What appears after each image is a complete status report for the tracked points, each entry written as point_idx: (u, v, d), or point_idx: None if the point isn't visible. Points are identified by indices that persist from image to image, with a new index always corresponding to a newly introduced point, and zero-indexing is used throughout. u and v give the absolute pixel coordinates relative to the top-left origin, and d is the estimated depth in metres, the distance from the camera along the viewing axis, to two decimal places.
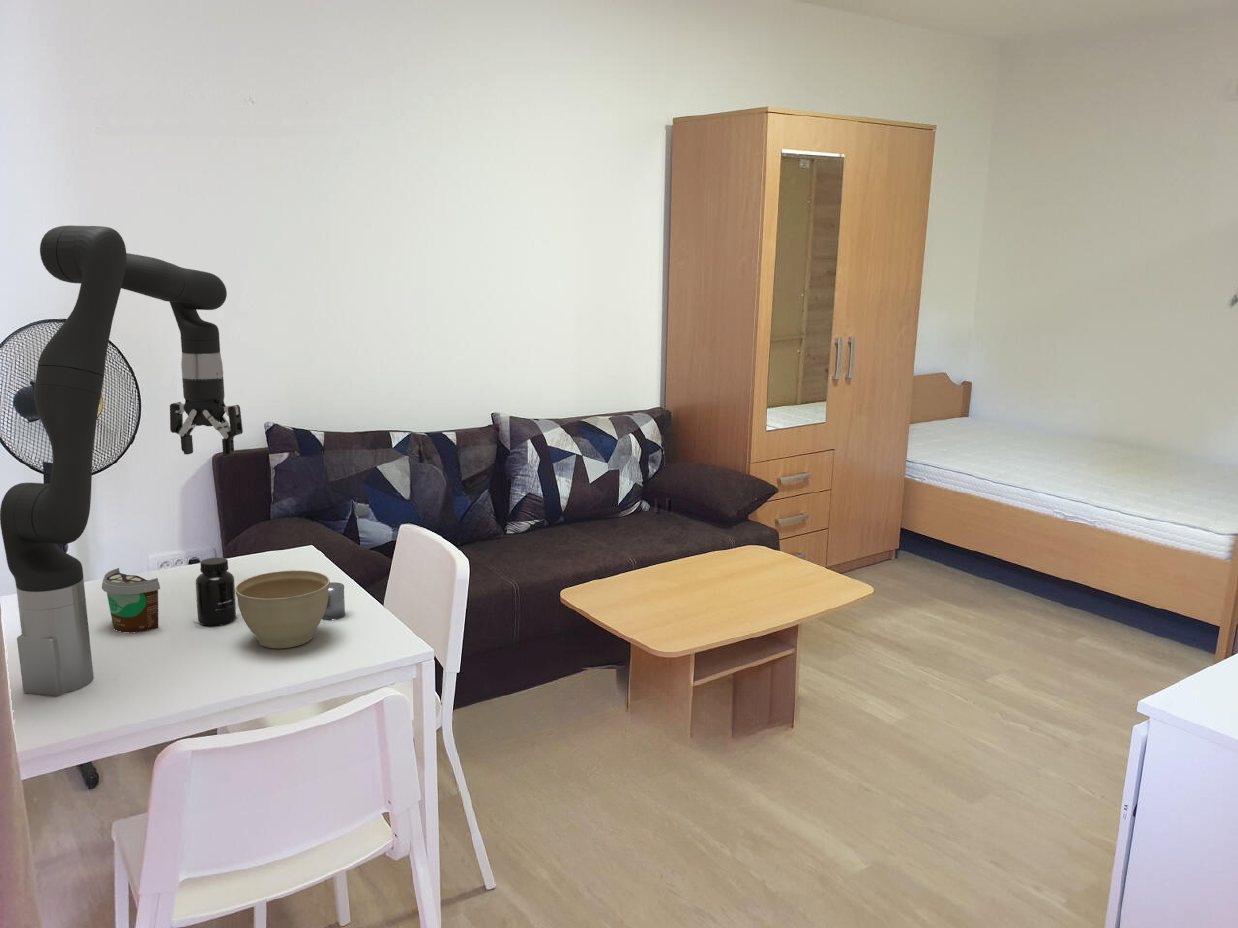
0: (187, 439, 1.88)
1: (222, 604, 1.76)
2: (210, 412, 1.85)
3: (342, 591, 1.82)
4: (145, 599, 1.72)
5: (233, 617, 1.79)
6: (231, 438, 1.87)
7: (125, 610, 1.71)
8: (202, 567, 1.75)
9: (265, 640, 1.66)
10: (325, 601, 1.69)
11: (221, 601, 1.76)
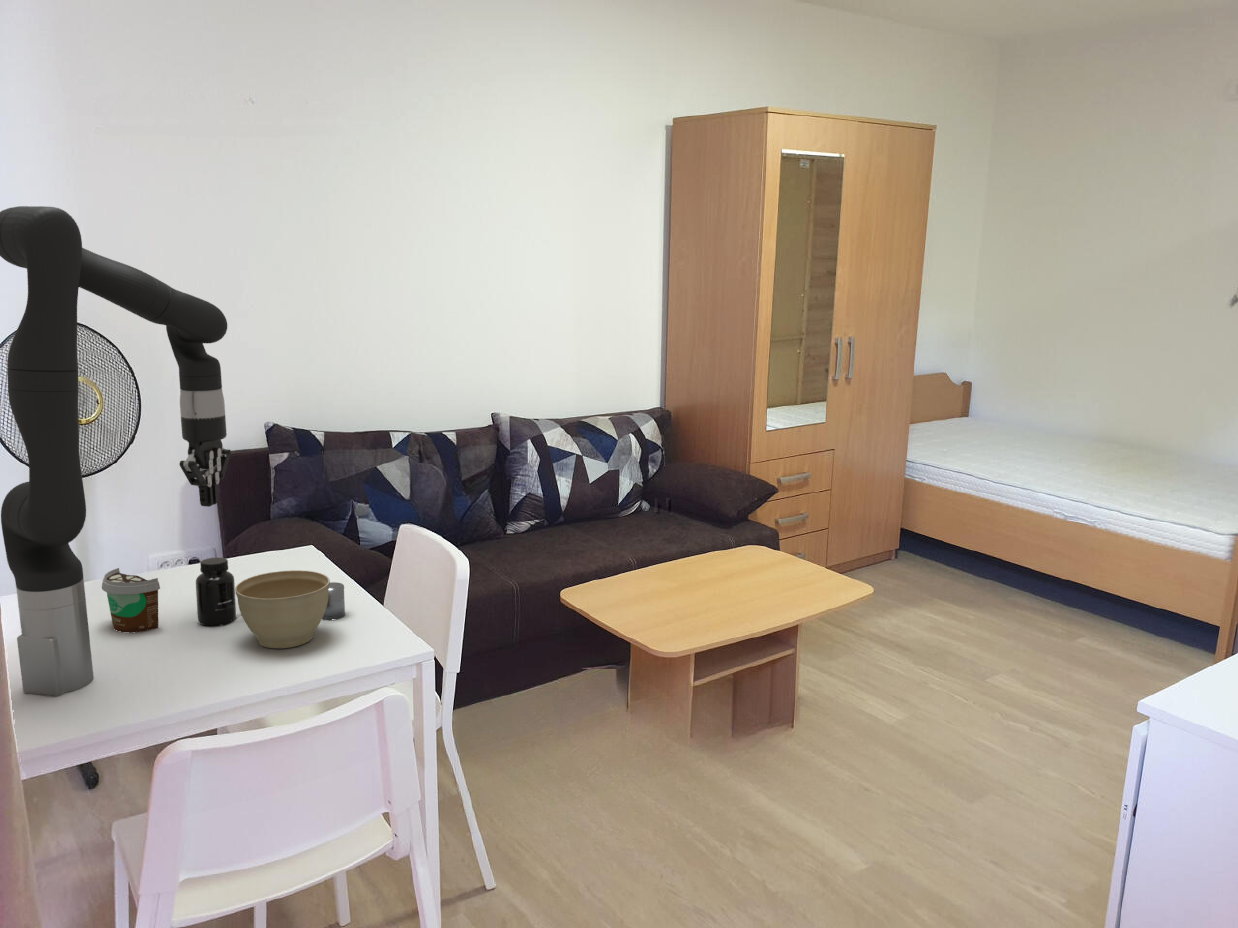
0: None
1: (222, 604, 1.76)
2: None
3: (342, 591, 1.82)
4: (145, 599, 1.72)
5: (233, 617, 1.79)
6: None
7: (125, 610, 1.71)
8: (202, 567, 1.75)
9: (265, 640, 1.66)
10: (325, 601, 1.69)
11: (221, 601, 1.76)
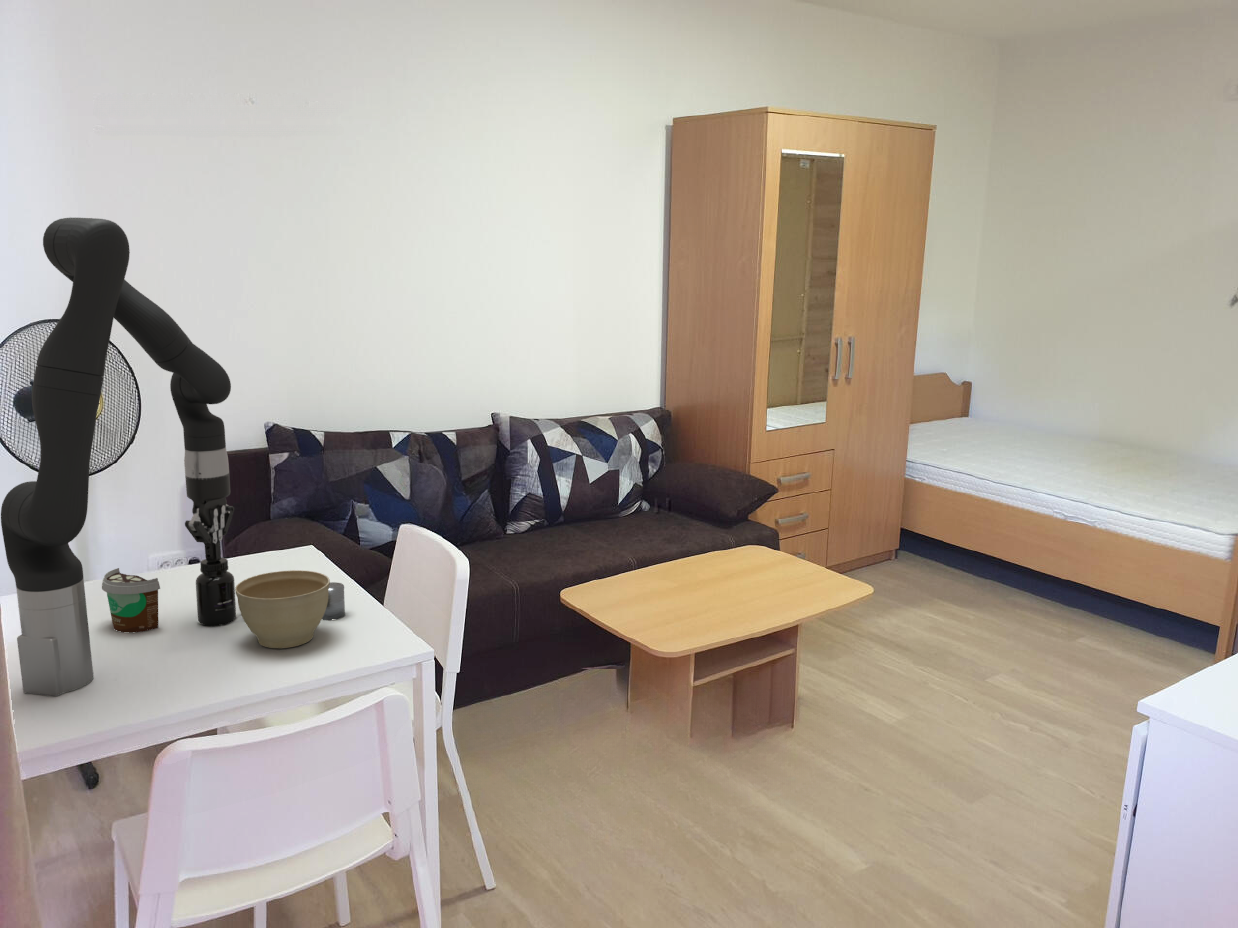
0: None
1: (222, 604, 1.76)
2: None
3: (342, 591, 1.82)
4: (145, 599, 1.72)
5: (233, 617, 1.79)
6: None
7: (125, 610, 1.71)
8: (202, 567, 1.75)
9: (265, 640, 1.66)
10: (325, 601, 1.69)
11: (221, 601, 1.76)
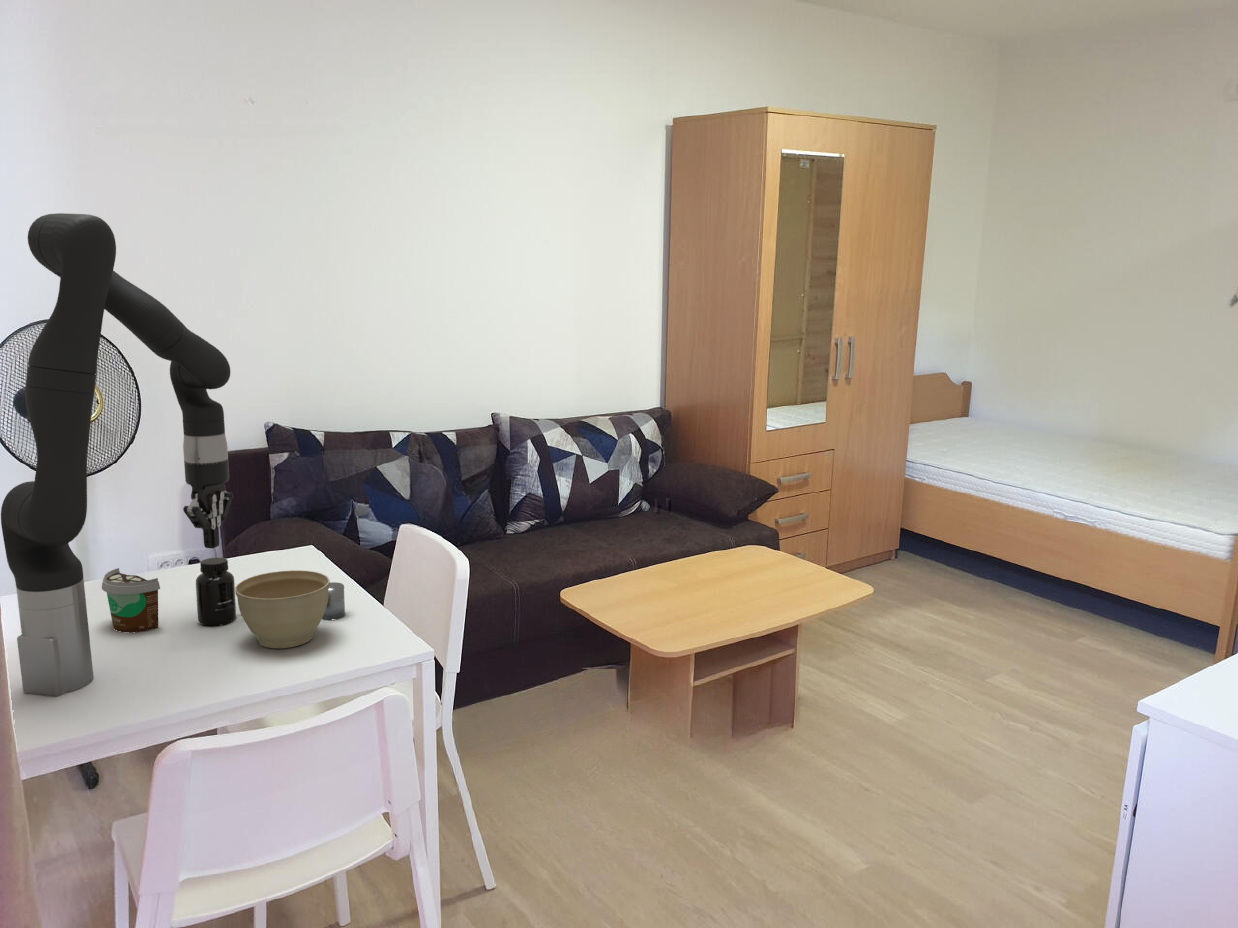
0: None
1: (222, 604, 1.76)
2: None
3: (342, 591, 1.82)
4: (145, 599, 1.72)
5: (233, 617, 1.79)
6: None
7: (125, 610, 1.71)
8: (202, 567, 1.75)
9: (265, 640, 1.66)
10: (325, 601, 1.69)
11: (221, 601, 1.76)
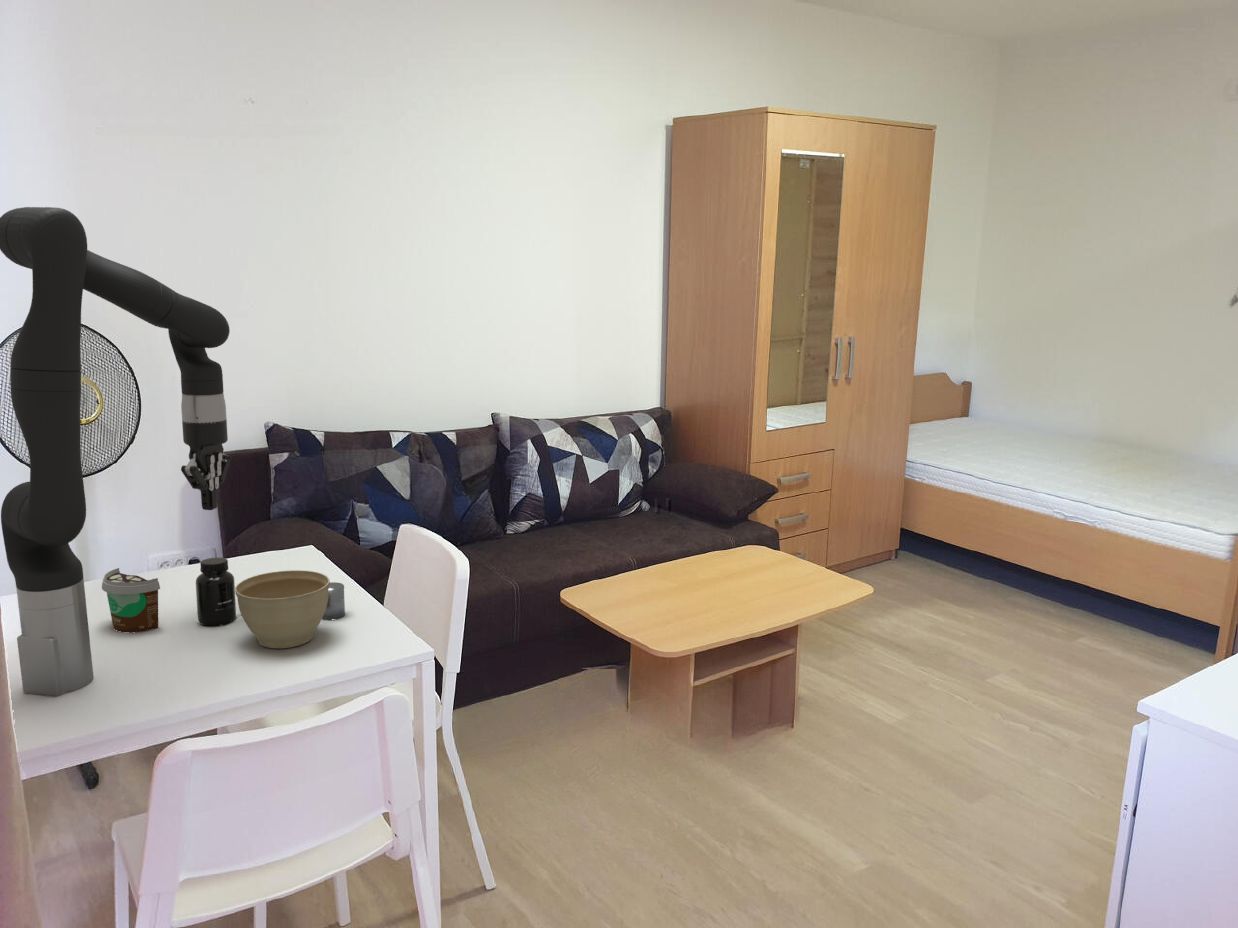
0: None
1: (222, 604, 1.76)
2: None
3: (342, 591, 1.82)
4: (145, 599, 1.72)
5: (233, 617, 1.79)
6: None
7: (125, 610, 1.71)
8: (202, 567, 1.75)
9: (265, 640, 1.66)
10: (325, 601, 1.69)
11: (221, 601, 1.76)
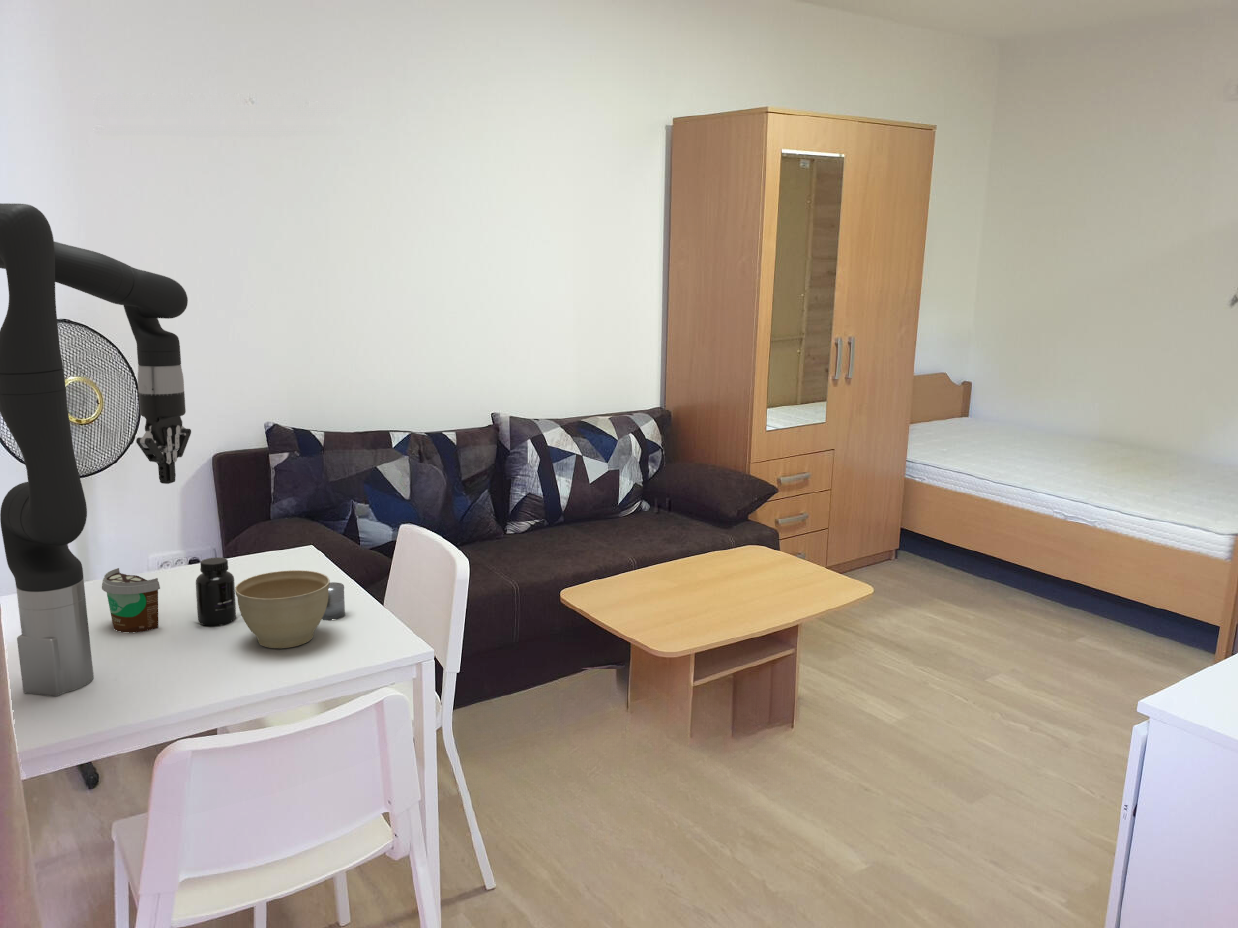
0: None
1: (222, 604, 1.76)
2: None
3: (342, 591, 1.82)
4: (145, 599, 1.72)
5: (233, 617, 1.79)
6: None
7: (125, 610, 1.71)
8: (202, 567, 1.75)
9: (265, 640, 1.66)
10: (325, 601, 1.69)
11: (221, 601, 1.76)
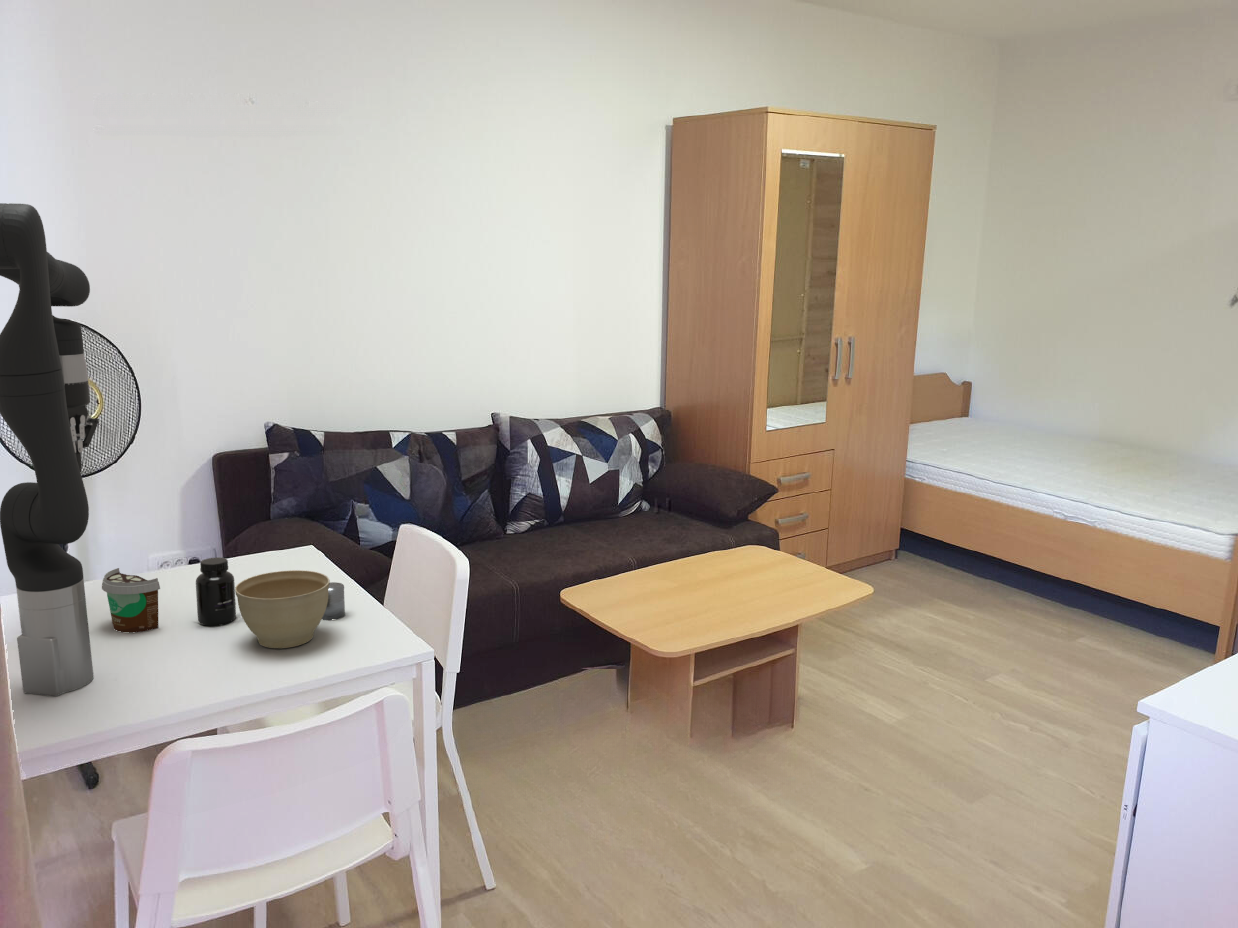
0: None
1: (222, 604, 1.76)
2: None
3: (342, 591, 1.82)
4: (145, 599, 1.72)
5: (233, 617, 1.79)
6: None
7: (125, 610, 1.71)
8: (202, 567, 1.75)
9: (265, 640, 1.66)
10: (325, 601, 1.69)
11: (221, 601, 1.76)
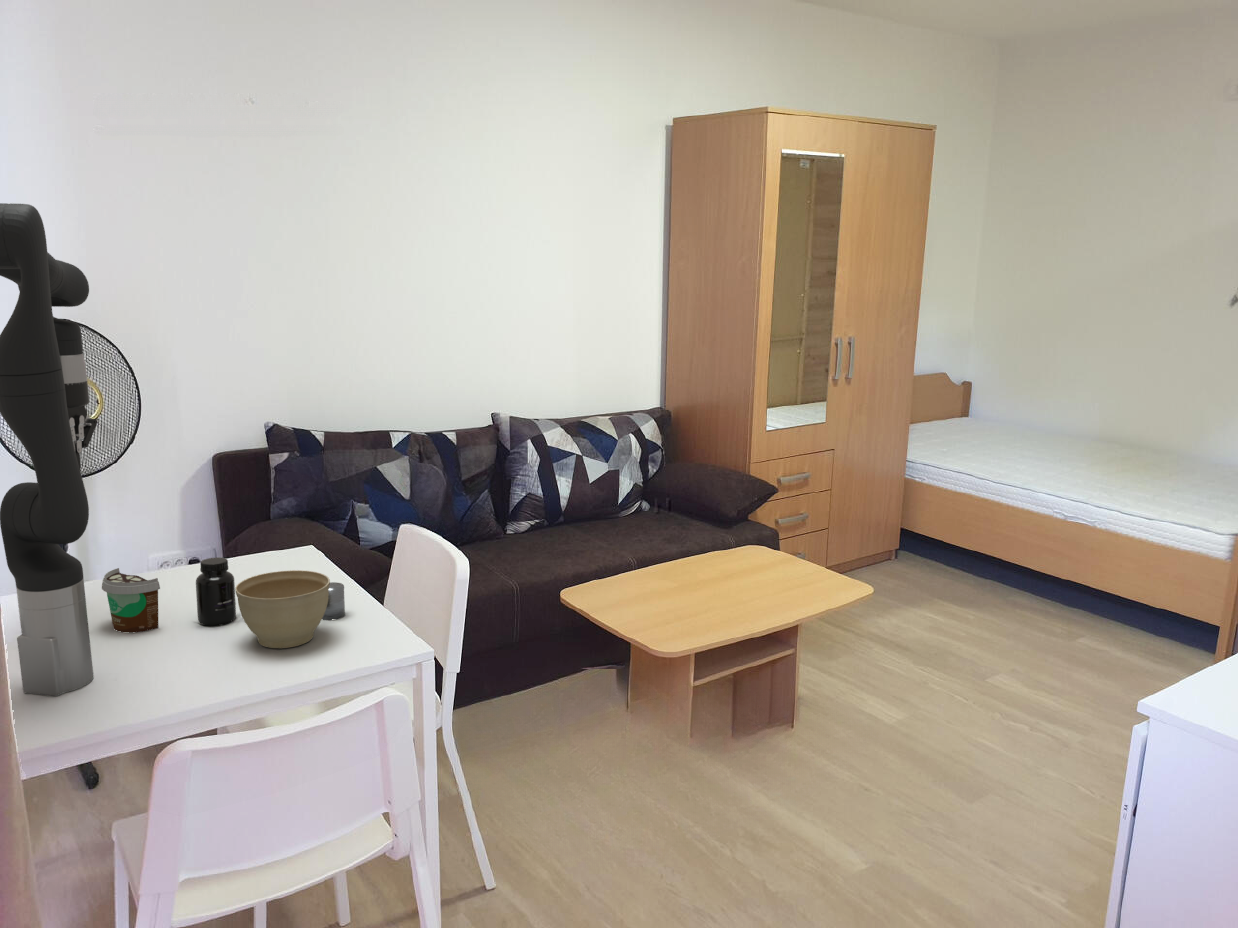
0: None
1: (222, 604, 1.76)
2: None
3: (342, 591, 1.82)
4: (145, 599, 1.72)
5: (233, 617, 1.79)
6: None
7: (125, 610, 1.71)
8: (202, 567, 1.75)
9: (265, 640, 1.66)
10: (325, 601, 1.69)
11: (221, 601, 1.76)
